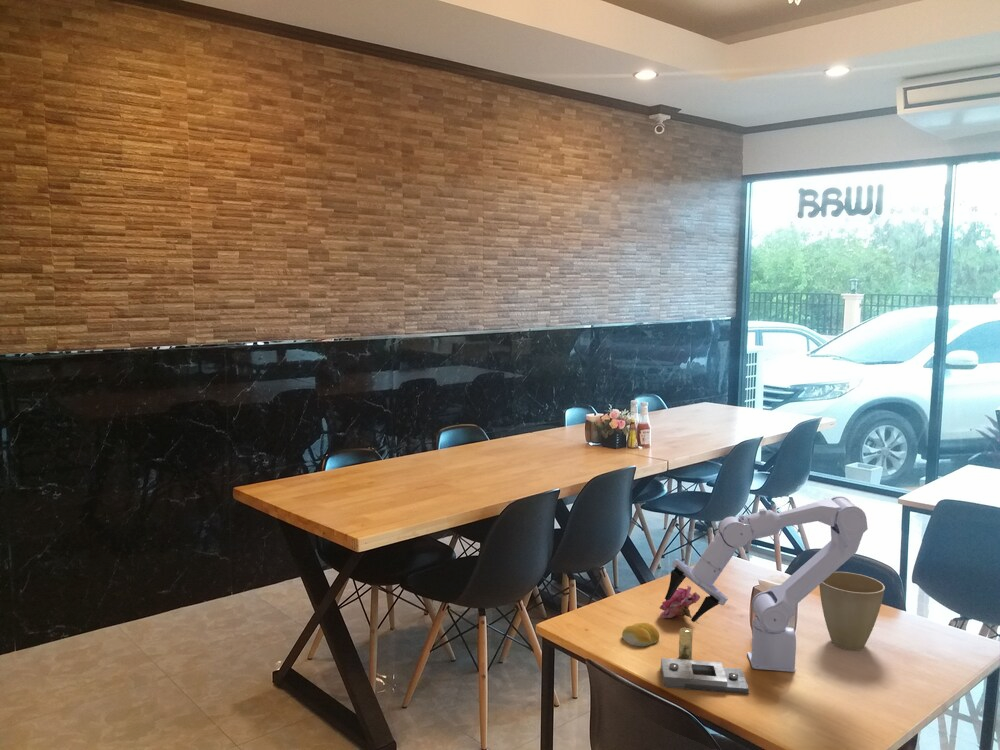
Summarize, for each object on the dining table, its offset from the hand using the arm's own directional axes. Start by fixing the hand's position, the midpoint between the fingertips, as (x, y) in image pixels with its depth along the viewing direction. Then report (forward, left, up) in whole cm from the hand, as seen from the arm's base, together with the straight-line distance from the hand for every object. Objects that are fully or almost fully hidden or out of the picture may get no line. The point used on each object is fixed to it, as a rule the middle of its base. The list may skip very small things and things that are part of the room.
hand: (679, 609), depth 181 cm
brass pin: (-2, 0, -12) cm, 12 cm away
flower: (-2, -24, -12) cm, 27 cm away
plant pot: (-43, -15, -12) cm, 47 cm away
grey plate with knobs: (-5, +10, -12) cm, 16 cm away
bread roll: (+8, -9, -12) cm, 17 cm away
